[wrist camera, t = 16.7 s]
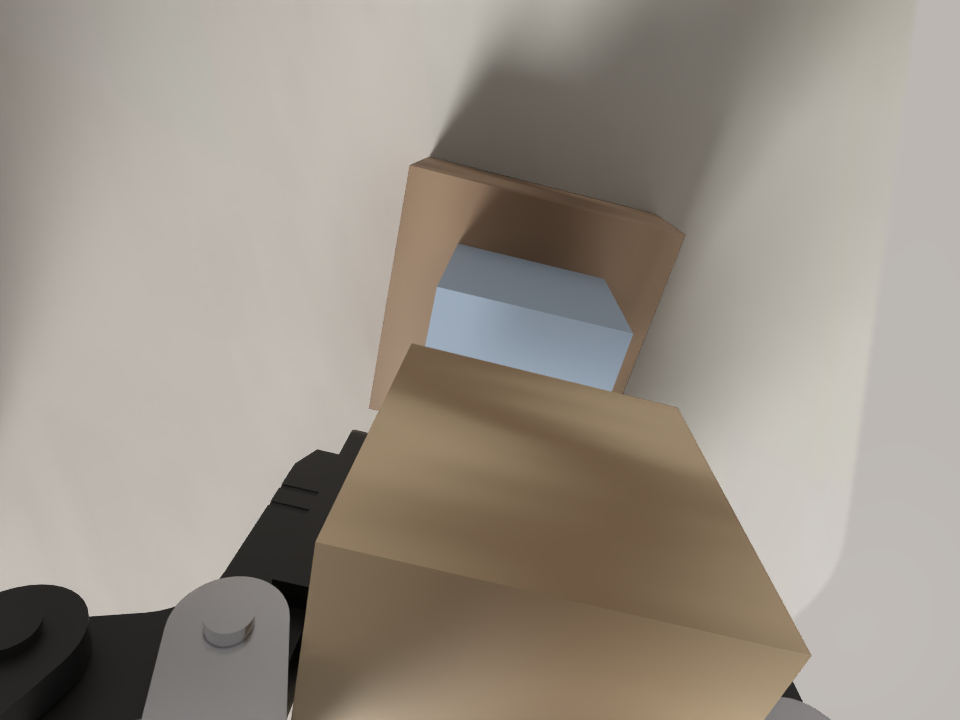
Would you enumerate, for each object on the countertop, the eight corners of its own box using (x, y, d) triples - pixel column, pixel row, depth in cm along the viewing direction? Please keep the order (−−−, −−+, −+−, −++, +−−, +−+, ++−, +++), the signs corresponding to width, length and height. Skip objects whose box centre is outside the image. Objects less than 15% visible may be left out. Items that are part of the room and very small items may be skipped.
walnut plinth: (391, 364, 24) (368, 408, 21) (429, 156, 20) (409, 165, 17) (584, 410, 25) (596, 461, 21) (656, 214, 21) (685, 234, 17)
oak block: (371, 547, 12) (278, 817, 7) (411, 342, 10) (314, 542, 5) (592, 597, 12) (635, 893, 7) (677, 407, 10) (811, 655, 5)
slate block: (430, 375, 20) (403, 452, 15) (457, 243, 18) (436, 286, 13) (561, 406, 20) (574, 491, 15) (604, 278, 18) (633, 333, 13)
